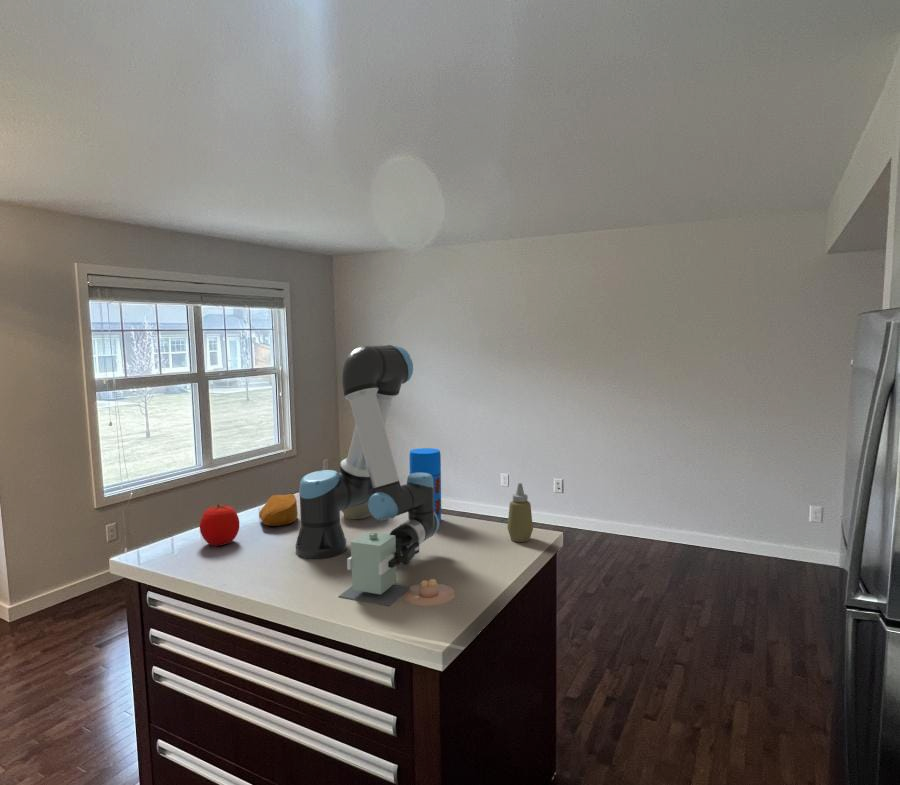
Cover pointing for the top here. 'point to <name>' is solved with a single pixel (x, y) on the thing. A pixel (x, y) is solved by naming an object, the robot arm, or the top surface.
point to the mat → (376, 595)
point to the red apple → (219, 525)
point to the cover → (372, 562)
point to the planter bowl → (357, 512)
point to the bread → (279, 510)
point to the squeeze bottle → (520, 517)
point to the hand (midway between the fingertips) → (364, 566)
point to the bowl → (429, 593)
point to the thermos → (428, 470)
